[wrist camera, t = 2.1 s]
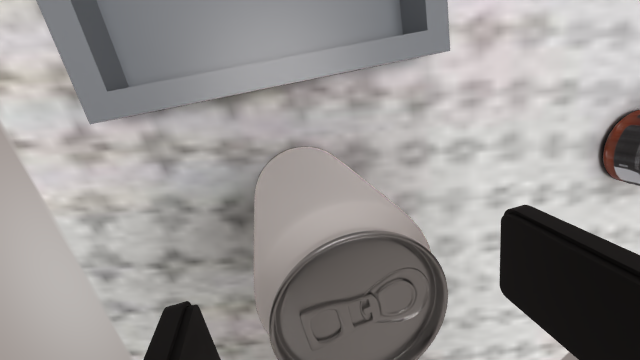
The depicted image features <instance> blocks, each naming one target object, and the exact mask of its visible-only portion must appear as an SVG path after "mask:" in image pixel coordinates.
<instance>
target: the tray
mask: <svg viewBox="0 0 640 360" xmlns="http://www.w3.org/2000/svg"><path fill="white" fill-rule="evenodd" d="M36 1H37V3H38V5H39V8H40V10H41V12H42V15H43V17H44V19H45V22H46V24H47V26H48V29H49V31H50V33H51V35H52V38H53V40H54V42H55V45H56V47H57V49H58V52H59V54H60V56H61V59H62V61H63V63H64V66H65V68H66V70H67V72H68V75H69V77H70V79H71V82H72V84H73V86H74V89H75V91H76V93H77V96H78V98H79V100H80V103H81V105H82V107H83V109H84V112H85V114H86V116H87V119H88V121H89V123H90V124H94V123H99V122H104V121H109V120H115V119H120V118H125V117H130V116H135V115H140V114H145V113H150V112H154V111H159V110H164V109H169V108H174V107H179V106H184V105H189V104H194V103H198V102H203V101H208V100H213V99H218V98H223V97H228V96H233V95H238V94H242V93H247V92H252V91H257V90H262V89H267V88H272V87H277V86H282V85H287V84H291V83H296V82H301V81H306V80H311V79H316V78H321V77H326V76H331V75H335V74H340V73H345V72H350V71H355V70H360V69H365V68H370V67H375V66H380V65H384V64H389V63H394V62H399V61H404V60H409V59H414V58H419V57H423V56H428V55H432V54H437V53H442V52H446V51H450V40H449V21H448V3H447V0H36Z"/></svg>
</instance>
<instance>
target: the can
mask: <svg viewBox="0 0 640 360" xmlns="http://www.w3.org/2000/svg"><path fill="white" fill-rule="evenodd" d="M254 293H255V301H256V307H257V312H258V315H259V318H260V320H261V322H262V324H263V326H264V328H265V330H266V331H267V333H268V334H269V336H270V341H271V345H272V348H273V351H274V353H275V355H276V357H277V359H278V360H417V359H418V358H419V357H420V356H421V355H422V354H423V353H424V352H425V351H426V350H427V348H428V347H429V346H430V344H431V343H432V342H433V340H434V339H435V337H436V335H437V333H438V332H439V330H440V327H441V325H442V323H443V320H444V317H445V313H446V309H447V302H448V289H447V282H446V278H445V275H444V272H443V270H442V267H441V265H440V264H439V262H438V260H437V259H436V258H435V256H434V255H433V254H432V253H431V250H430V247H429V244H428V242H427V240H426V238H425V236H424V234H423V232H422V231H421V230H420V228H419V227H418V226H417V225H416V223H415V222H414V221H413V220H412V219H411V218H410V217H409V216H408V215H407V214H406V213H405V212H403V211H402V210H401V209H400V208H399V207H398V206H396V205H395V204H394V203H393V202H392V201H390V200H389V199H388V198H387V197H386V196H384V195H383V194H382V193H381V192H379V191H378V190H377V189H376V188H374V187H373V186H372V185H371V184H369V183H368V182H367V181H366V180H364V179H363V178H362V177H361V176H359V175H358V174H357V173H356V172H354V171H353V170H352V169H351V168H349V167H348V166H347V165H345V164H344V163H343V162H342V161H340V160H339V159H338V158H336V157H335V156H333V155H332V154H330V153H328V152H326V151H324V150H321V149H318V148H314V147H298V148H293V149H289V150H287V151H284V152H282V153H280V154H279V155H277V156H276V157H274V158H273V159H272V160H271V161H270V162H269V163H268V164H267V165H266V166H265V168H264V169H263V170H262V172H261V174H260V176H259V178H258V181H257V184H256V189H255V202H254Z"/></svg>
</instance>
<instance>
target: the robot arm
mask: <svg viewBox="0 0 640 360" xmlns="http://www.w3.org/2000/svg"><path fill="white" fill-rule="evenodd" d="M500 288H501V291H502V293H503V294H504V296H505V297H506V298H508V299H509V300H510V301H511V302H512V303H513V304H515V305H516V306H517V307H518V308H519V309H520V310H522V311H523V312H524V313H525V314H526V315H527V316H529V317H530V318H531V319H532V320H533V321H534V322H536V323H537V324H538V325H539V326H540V327H541V328H543V329H544V330H545V331H546V332H547V333H548V334H550V335H551V336H552V337H553V338H554V339H555V340H556V341H558V342H559V343H560V344H561V345H562V346H563V347H565V348H566V349H567V350H568V351H569V352H570V353H572V354H573V355H574V356H575V357H576V358H578V359H579V360H640V255H638V254H636V253H633V252H631V251H629V250H627V249H625V248H622V247H620V246H618V245H616V244H613V243H611V242H609V241H607V240H605V239H602V238H600V237H598V236H596V235H594V234H591V233H589V232H587V231H585V230H582V229H580V228H578V227H576V226H574V225H571V224H569V223H567V222H565V221H562V220H560V219H558V218H556V217H554V216H551V215H549V214H547V213H545V212H542V211H540V210H538V209H536V208H534V207H531V206H529V205H522V206H518V207H515V208H511V209H508V210H507V211H506V212H505V213H504V216H503V217H502V218H501V247H500ZM144 360H221V359H220V357H219V355H218V352H217V350H216V347H215V345H214V342H213V340H212V338H211V335H210V333H209V330H208V328H207V325H206V323H205V321H204V318H203V316H202V313H201V311H200V308H199V307H198V305H191V303H190V302H188V301H186V302H183V303H179V304H176V305H172V306H169V307H166V308H165V309H164V311H163V313H162V315H161V318H160V320H159V323H158V325H157V328H156V330H155V333H154V335H153V337H152V340H151V342H150V345H149V347H148V350H147V352H146V355H145V357H144Z"/></svg>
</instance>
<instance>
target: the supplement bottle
mask: <svg viewBox="0 0 640 360" xmlns="http://www.w3.org/2000/svg"><path fill="white" fill-rule="evenodd" d="M603 162H604V166H605V169H606V171H607V172H608V174H610V176H611V177H613V178H614V179H617V180H620V181H624V182H627V183H630V184H635V185H639V186H640V110H637V111H634V112H632V113H630V114H628V115H627V116H626V117H624V118H623V119H622V120H620V121H619V122H618V123H617V124H616V126H615V127H614V128H613V129H612V131H611V132H610V134H609V136H608V138H607V141H606V144H605V147H604V153H603Z"/></svg>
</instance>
